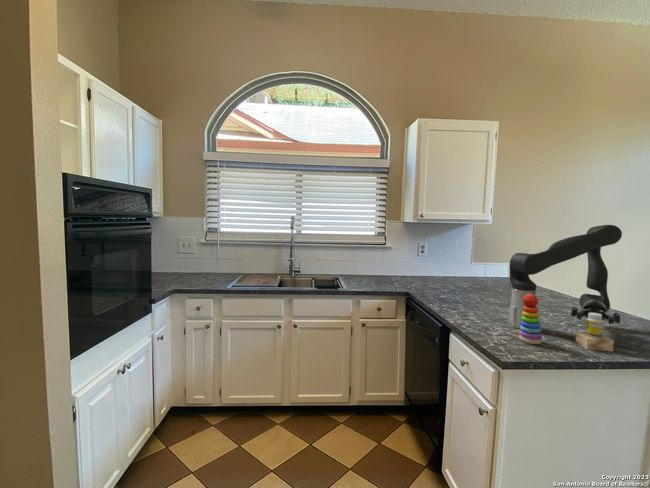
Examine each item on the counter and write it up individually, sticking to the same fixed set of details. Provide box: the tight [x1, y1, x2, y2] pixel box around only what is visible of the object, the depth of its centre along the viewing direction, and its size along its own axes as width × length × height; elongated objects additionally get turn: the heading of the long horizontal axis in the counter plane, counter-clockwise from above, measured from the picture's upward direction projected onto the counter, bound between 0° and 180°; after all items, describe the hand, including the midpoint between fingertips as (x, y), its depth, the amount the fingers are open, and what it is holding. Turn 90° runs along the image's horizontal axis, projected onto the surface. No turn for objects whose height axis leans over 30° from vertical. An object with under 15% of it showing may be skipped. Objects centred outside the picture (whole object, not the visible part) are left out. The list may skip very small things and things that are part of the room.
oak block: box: [575, 331, 615, 352], centre depth 118 cm, size 8×8×4 cm
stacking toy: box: [518, 294, 544, 345], centre depth 123 cm, size 8×8×19 cm
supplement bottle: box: [585, 313, 604, 338], centre depth 117 cm, size 5×5×8 cm
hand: (594, 319), depth 117 cm, fingers open, 8 cm apart
